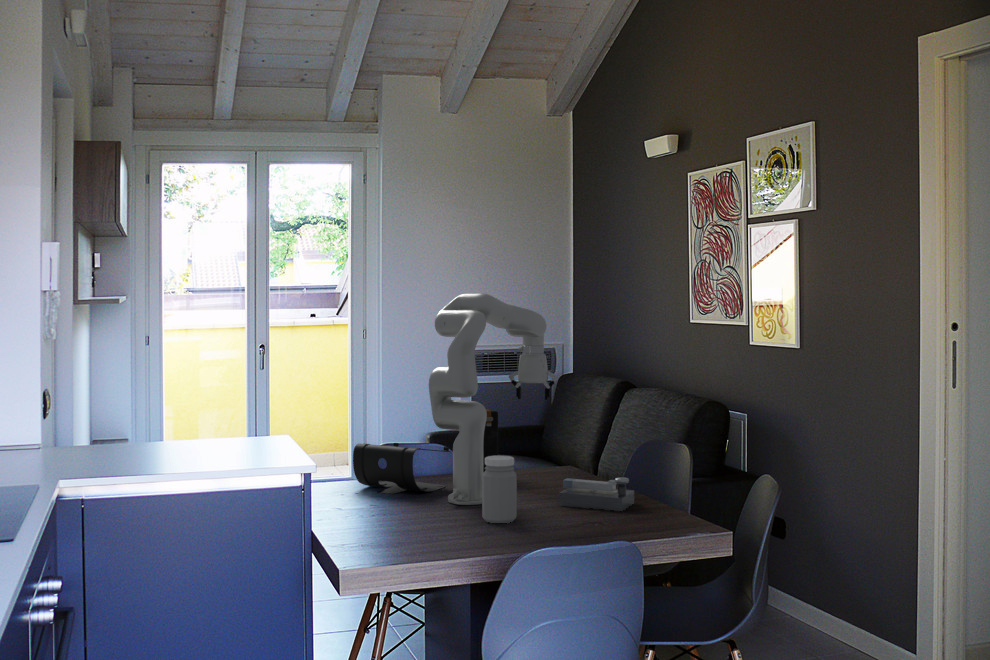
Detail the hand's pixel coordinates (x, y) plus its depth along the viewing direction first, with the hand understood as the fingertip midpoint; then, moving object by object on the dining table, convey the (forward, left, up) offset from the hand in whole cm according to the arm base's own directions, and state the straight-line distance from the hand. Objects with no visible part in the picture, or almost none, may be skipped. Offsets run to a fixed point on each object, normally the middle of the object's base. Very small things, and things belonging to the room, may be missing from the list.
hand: (533, 399), depth 317 cm
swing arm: (-28, -33, -24) cm, 50 cm away
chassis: (-28, -33, -29) cm, 52 cm away
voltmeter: (-1, +20, -29) cm, 35 cm away
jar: (-61, -15, -29) cm, 70 cm away
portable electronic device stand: (-31, +35, -29) cm, 55 cm away
